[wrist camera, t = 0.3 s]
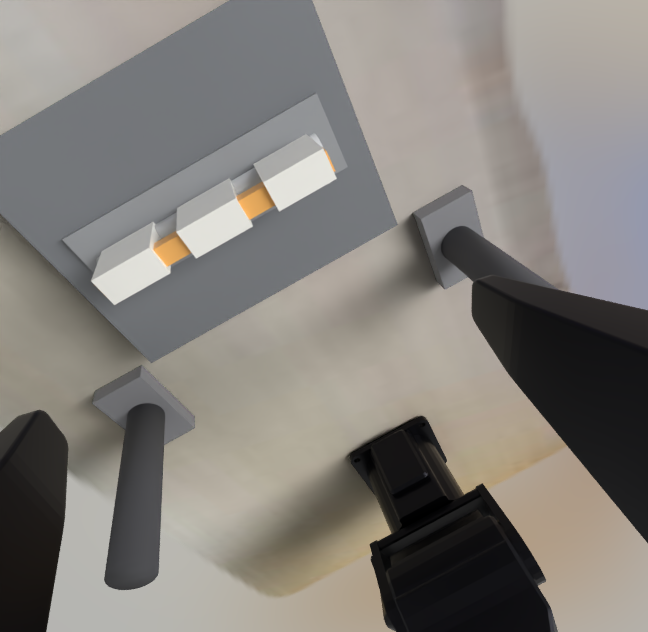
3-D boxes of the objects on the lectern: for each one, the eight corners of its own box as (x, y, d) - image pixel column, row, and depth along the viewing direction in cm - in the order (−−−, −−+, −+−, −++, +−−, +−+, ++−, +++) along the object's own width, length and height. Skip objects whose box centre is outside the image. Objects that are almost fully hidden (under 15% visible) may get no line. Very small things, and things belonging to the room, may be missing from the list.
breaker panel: (382, 211, 23) (400, 227, 21) (153, 340, 24) (150, 366, 22) (285, -33, 17) (298, -41, 15) (-28, 152, 17) (-53, 166, 15)
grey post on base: (481, 257, 26) (612, 357, 18) (436, 281, 27) (548, 392, 18) (462, 185, 24) (608, 266, 15) (412, 212, 24) (532, 307, 16)
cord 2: (194, 416, 27) (200, 579, 19) (152, 439, 27) (140, 611, 19) (141, 364, 24) (121, 532, 16) (95, 391, 24) (51, 571, 16)
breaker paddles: (323, 156, 18) (343, 174, 16) (116, 273, 19) (107, 308, 16) (310, 128, 18) (330, 143, 15) (96, 251, 18) (83, 285, 16)
